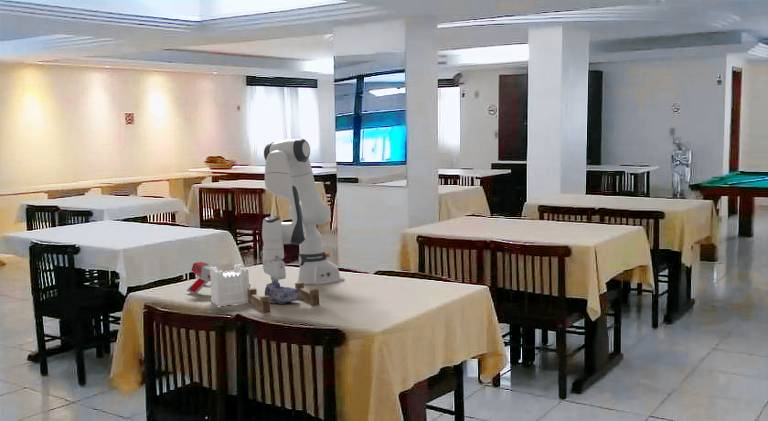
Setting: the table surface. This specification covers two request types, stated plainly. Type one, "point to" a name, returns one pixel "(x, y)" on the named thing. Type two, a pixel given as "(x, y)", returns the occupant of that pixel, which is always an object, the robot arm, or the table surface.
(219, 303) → the castle model
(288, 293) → the mineral
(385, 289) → the table surface
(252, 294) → the wooden brackets
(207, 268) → the toy gun
